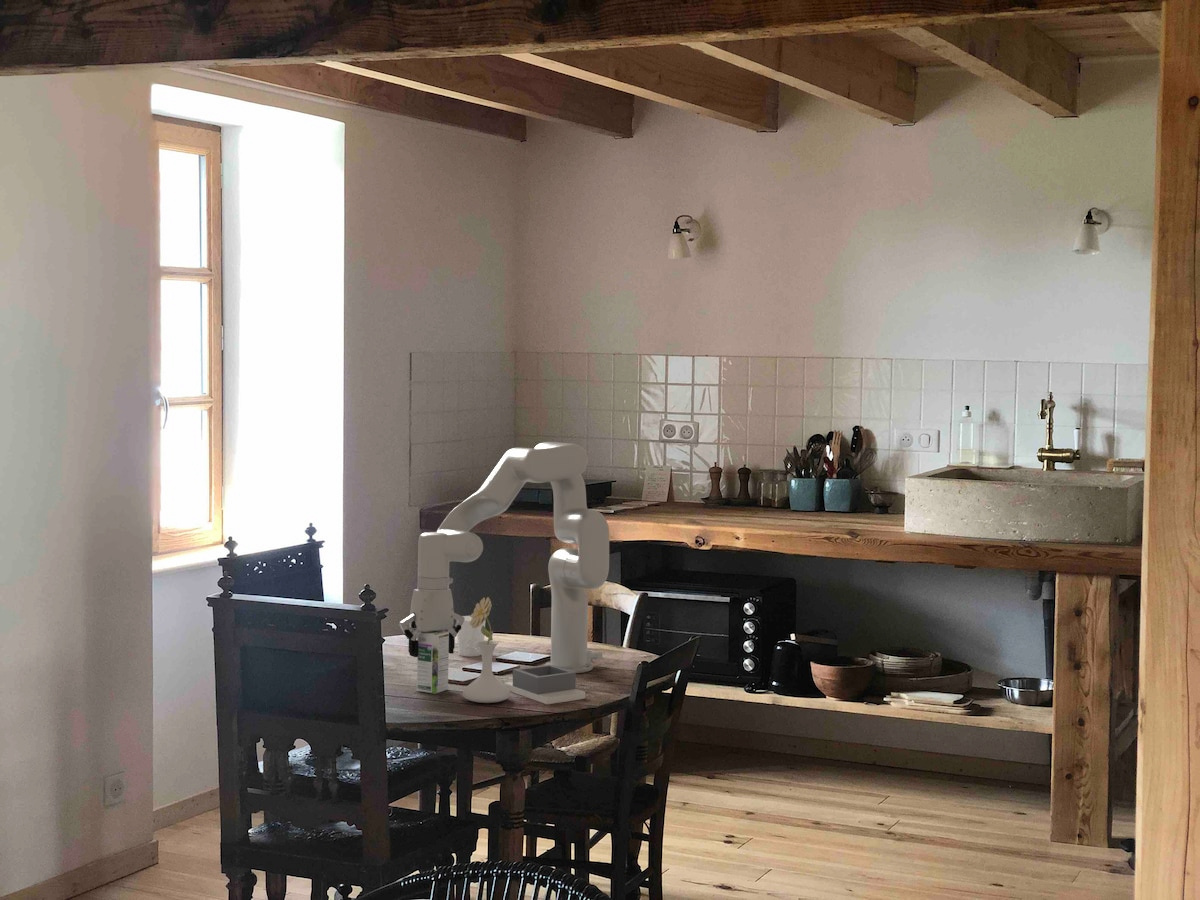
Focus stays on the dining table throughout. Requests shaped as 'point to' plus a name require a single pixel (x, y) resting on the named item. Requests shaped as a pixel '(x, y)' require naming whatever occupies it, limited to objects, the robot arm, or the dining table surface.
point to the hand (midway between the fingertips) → (431, 654)
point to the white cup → (469, 638)
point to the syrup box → (432, 661)
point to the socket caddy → (545, 684)
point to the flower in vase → (485, 663)
